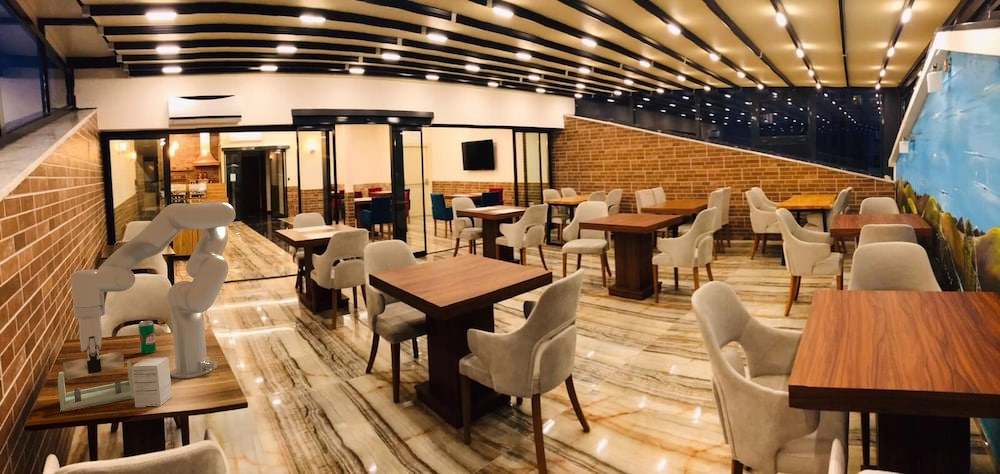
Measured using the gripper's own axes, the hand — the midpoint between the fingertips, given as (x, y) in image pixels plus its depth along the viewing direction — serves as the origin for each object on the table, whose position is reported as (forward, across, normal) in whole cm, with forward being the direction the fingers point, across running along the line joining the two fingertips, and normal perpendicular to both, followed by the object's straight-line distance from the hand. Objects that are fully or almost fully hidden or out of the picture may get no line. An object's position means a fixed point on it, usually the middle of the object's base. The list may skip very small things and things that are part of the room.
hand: (94, 369), depth 170 cm
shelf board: (+1, 0, 0) cm, 1 cm away
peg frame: (+9, 0, 0) cm, 9 cm away
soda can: (+9, -44, +16) cm, 48 cm away
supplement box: (+10, +14, +14) cm, 22 cm away
